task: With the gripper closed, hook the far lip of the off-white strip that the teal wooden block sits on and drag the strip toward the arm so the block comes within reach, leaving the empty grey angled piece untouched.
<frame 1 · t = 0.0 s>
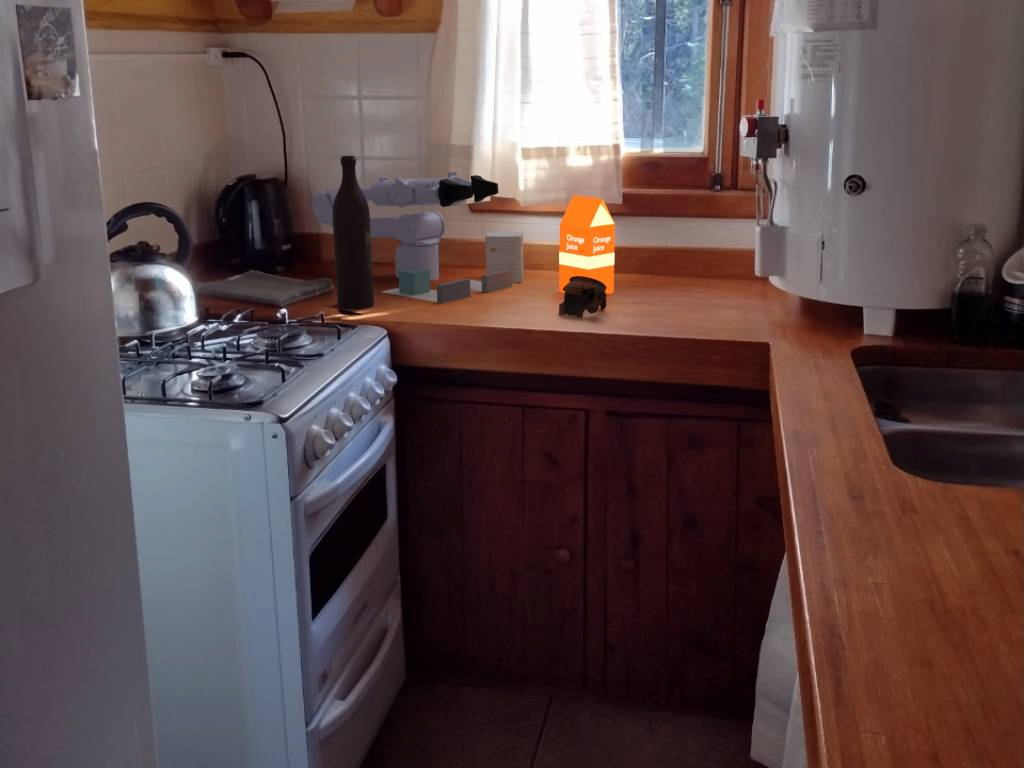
hand: (484, 190, 217), 22 cm above the worktop, tool horizontal, fingers open, 7 cm apart
grey angled piece: (475, 279, 225), point 3 cm above the worktop, slide at 0.0 cm
small box: (505, 281, 237), on the worktop
white strip: (424, 288, 217), point 3 cm above the worktop, slide at 0.0 cm, touching teal block
teal block: (414, 292, 220), point 1 cm above the worktop, touching white strip
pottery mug: (585, 314, 205), on the worktop
orange juice: (586, 293, 224), on the worktop
wine bottle: (356, 312, 208), on the worktop
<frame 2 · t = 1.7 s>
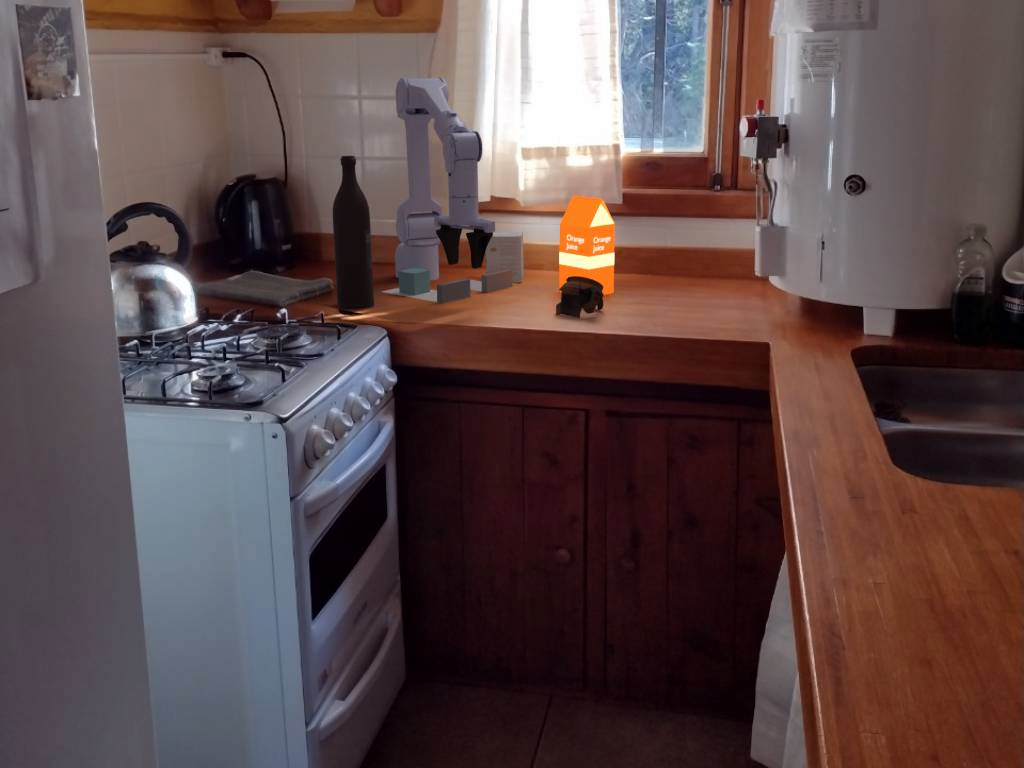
hand: (465, 266, 208), 8 cm above the worktop, tool pointing down, fingers open, 6 cm apart
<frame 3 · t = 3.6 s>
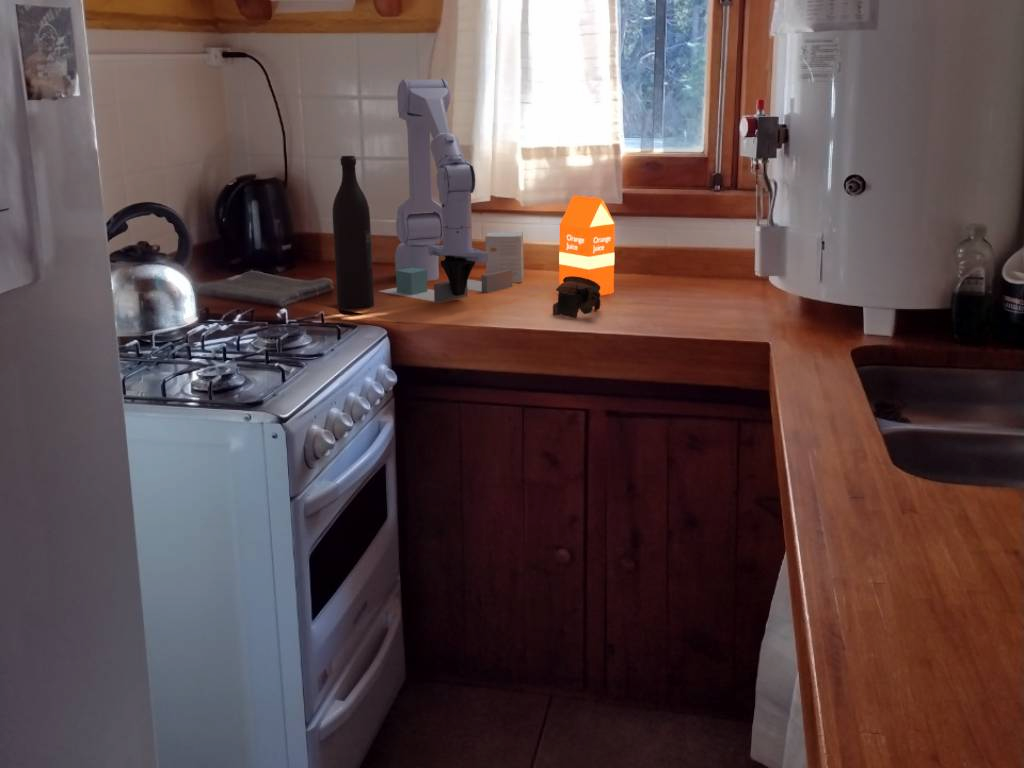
hand: (458, 294, 211), 2 cm above the worktop, tool pointing down, fingers closed
white strip: (422, 287, 218), point 3 cm above the worktop, slide at 0.8 cm, touching gripper, teal block
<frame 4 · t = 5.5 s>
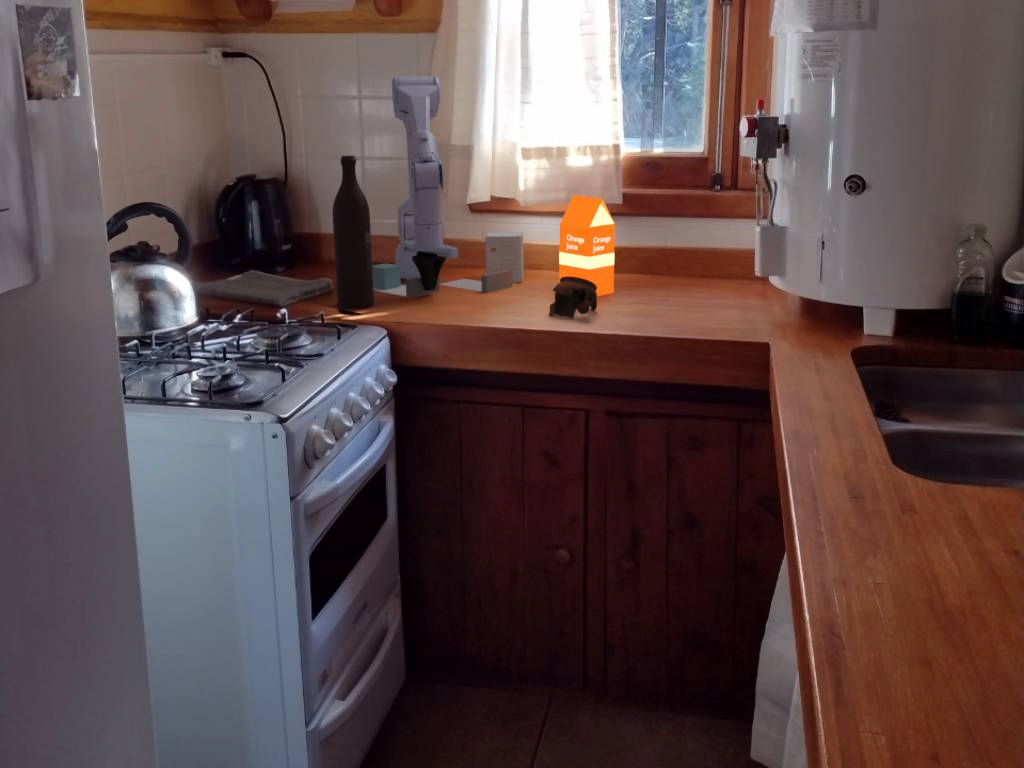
hand: (430, 289, 216), 2 cm above the worktop, tool pointing down, fingers closed
white strip: (395, 282, 223), point 3 cm above the worktop, slide at 8.8 cm, touching gripper, teal block
teal block: (385, 286, 225), point 1 cm above the worktop, touching white strip
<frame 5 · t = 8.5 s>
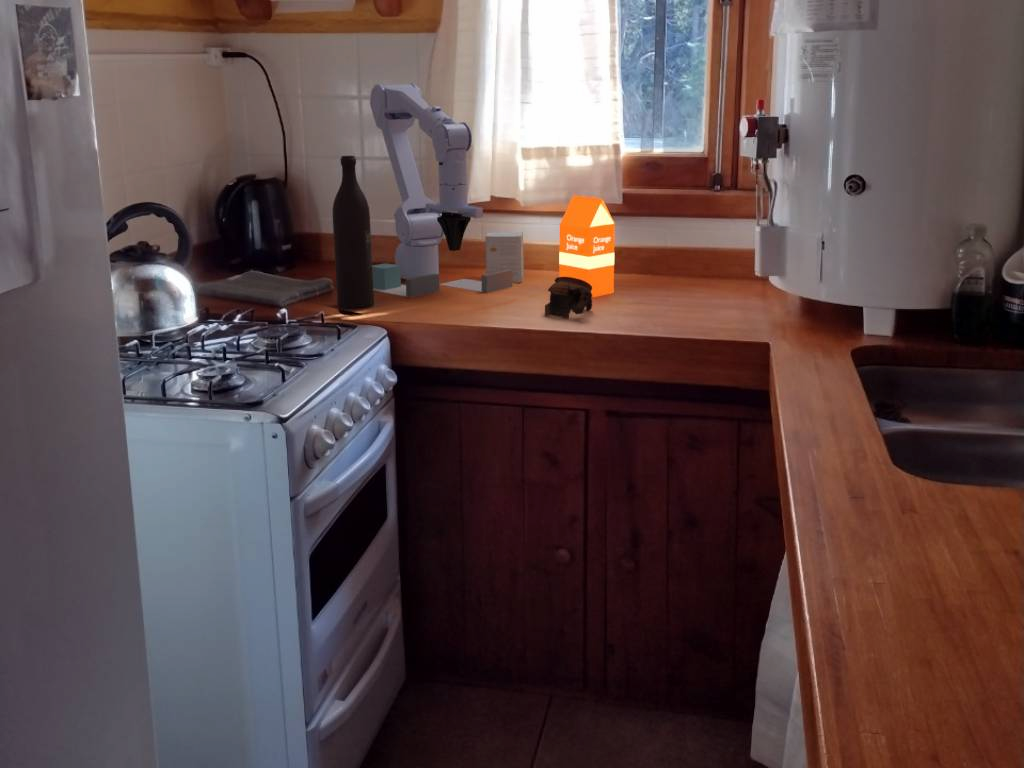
hand: (454, 250, 220), 9 cm above the worktop, tool pointing down, fingers closed
white strip: (395, 282, 223), point 3 cm above the worktop, slide at 8.8 cm, touching teal block
at the end: white strip slide at 8.8 cm; teal block inside the target area (0.2 cm from its centre), point 1.3 cm above the worktop; grey angled piece slide at 0.0 cm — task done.
